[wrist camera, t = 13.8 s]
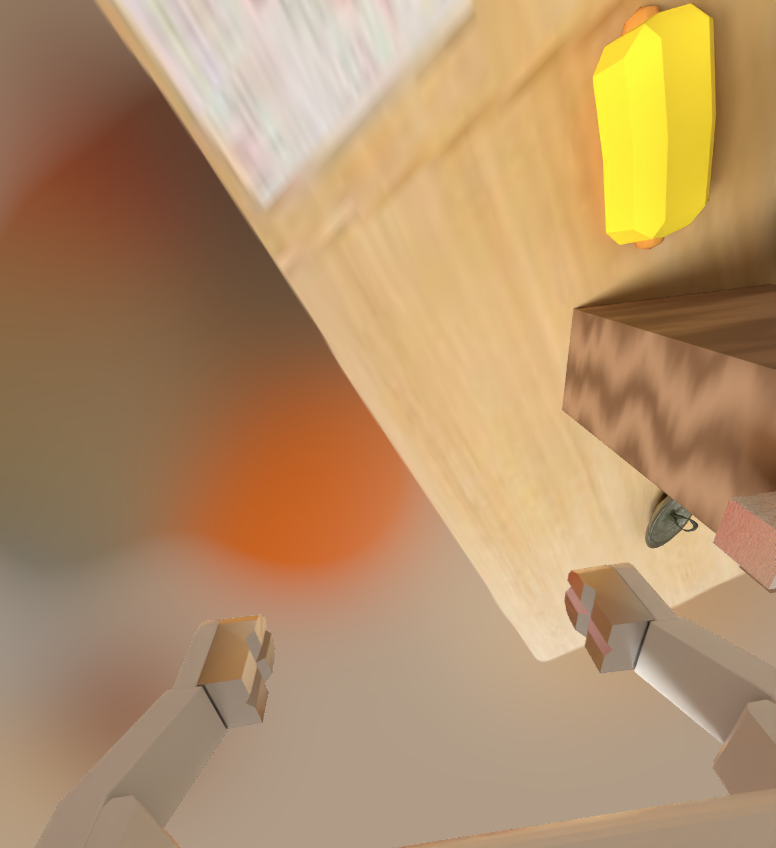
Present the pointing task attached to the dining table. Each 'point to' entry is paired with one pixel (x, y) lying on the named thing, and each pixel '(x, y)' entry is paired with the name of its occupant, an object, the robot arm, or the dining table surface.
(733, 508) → the aluminium bar
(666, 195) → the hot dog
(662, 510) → the lid
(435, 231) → the dining table surface
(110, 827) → the robot arm
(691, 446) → the walnut stand
